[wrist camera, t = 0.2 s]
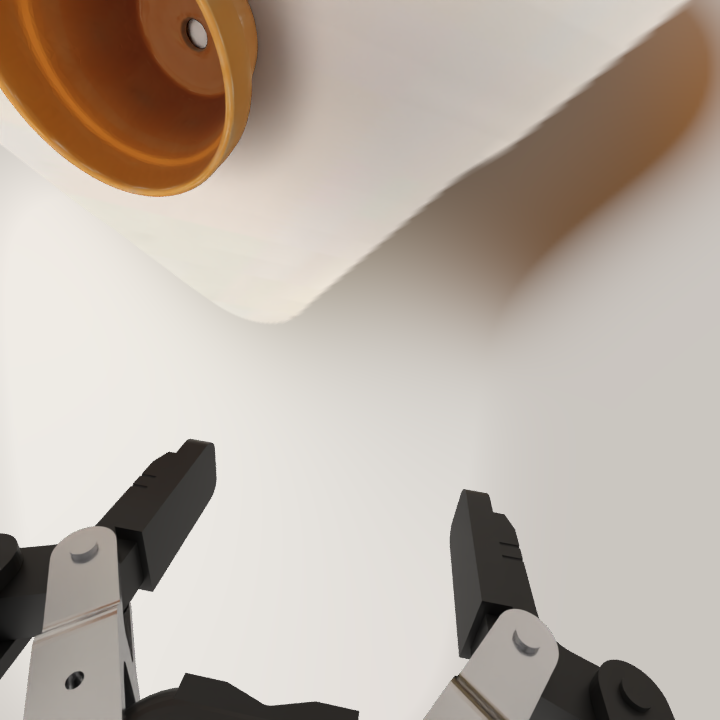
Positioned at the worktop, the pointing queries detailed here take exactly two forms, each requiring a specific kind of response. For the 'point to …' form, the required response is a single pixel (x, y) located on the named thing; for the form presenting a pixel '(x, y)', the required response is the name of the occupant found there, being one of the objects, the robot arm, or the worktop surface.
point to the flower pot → (132, 85)
